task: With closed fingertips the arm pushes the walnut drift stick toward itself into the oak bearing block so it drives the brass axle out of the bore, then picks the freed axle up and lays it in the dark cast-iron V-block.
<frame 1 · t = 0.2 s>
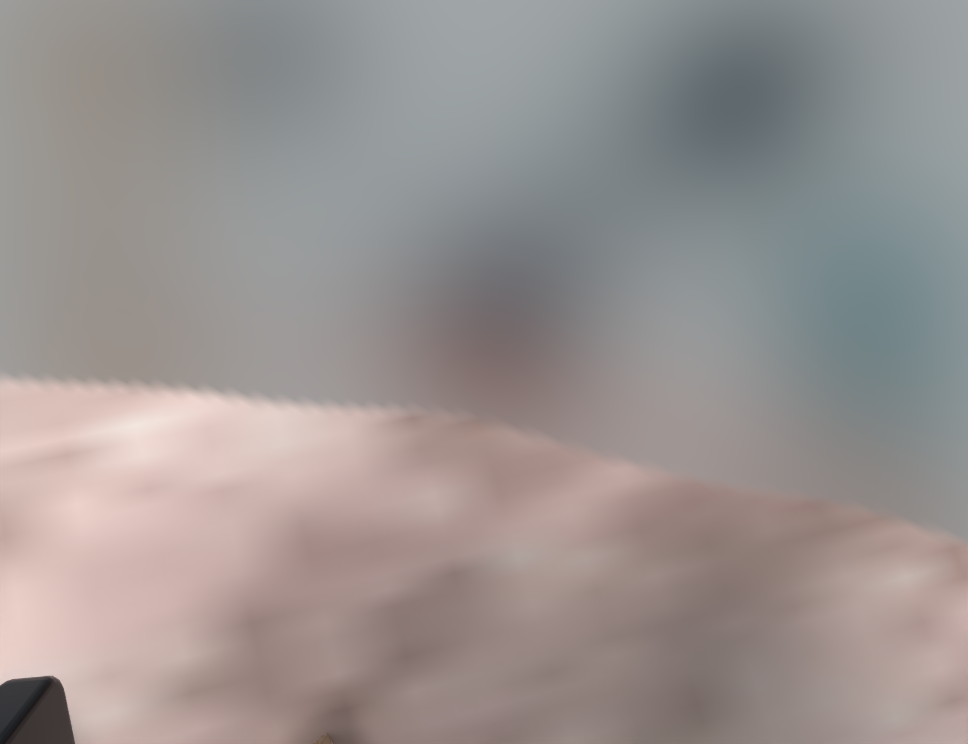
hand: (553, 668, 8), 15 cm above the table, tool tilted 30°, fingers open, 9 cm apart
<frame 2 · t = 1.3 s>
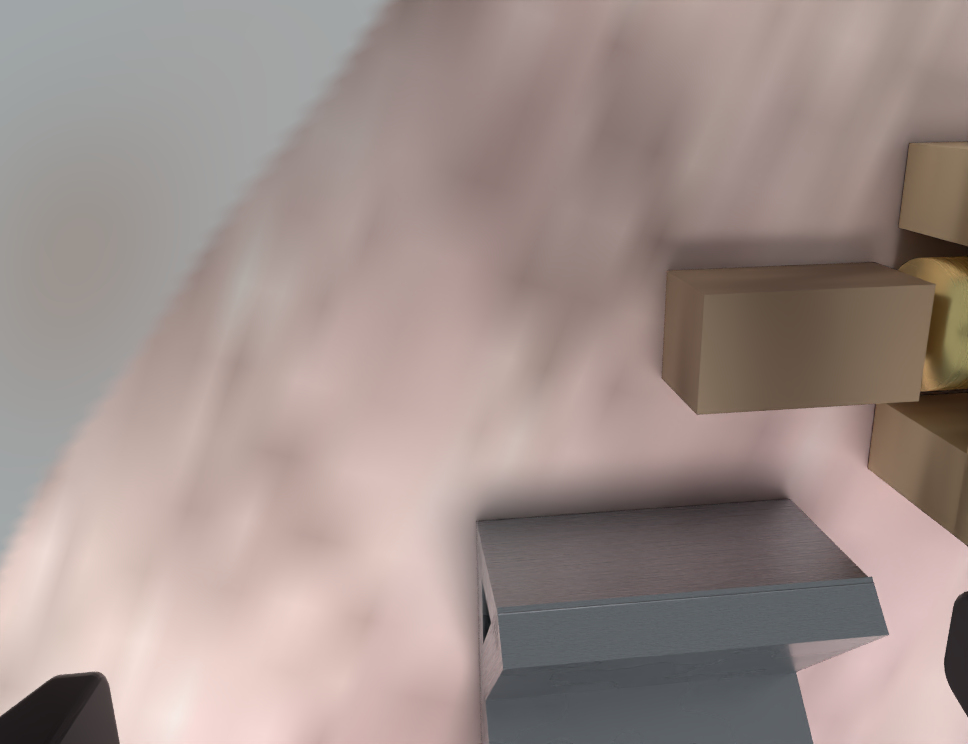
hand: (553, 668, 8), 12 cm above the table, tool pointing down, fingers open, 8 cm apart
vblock: (630, 656, 23), on the table
drift: (763, 318, 21), on the table
bearing block: (946, 312, 21), on the table
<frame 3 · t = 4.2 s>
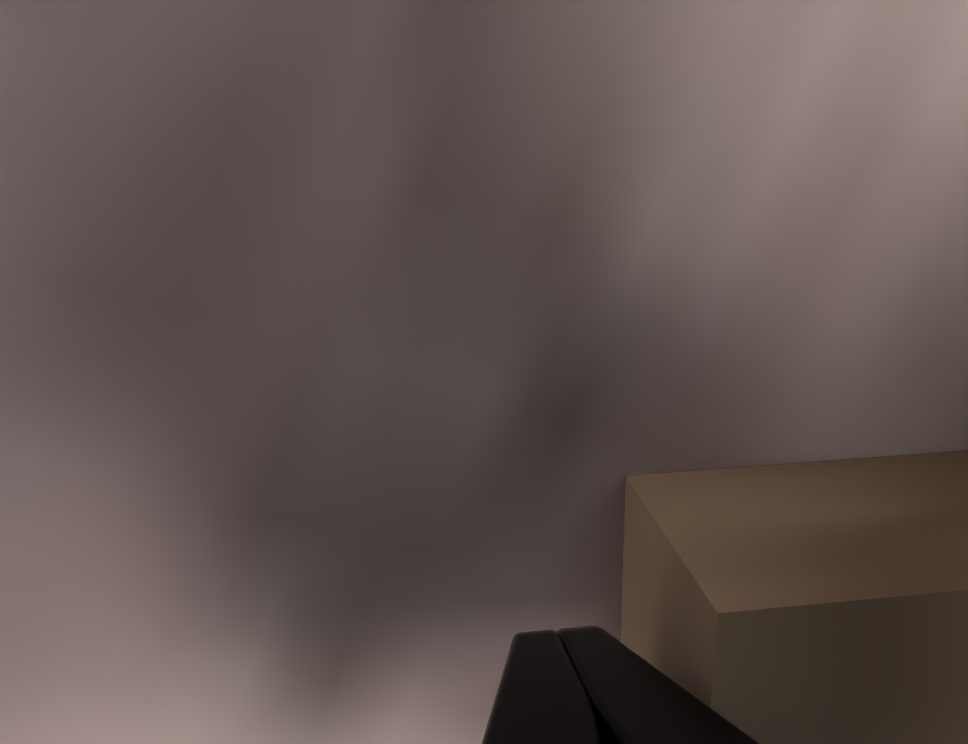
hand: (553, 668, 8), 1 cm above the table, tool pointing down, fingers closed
drift: (835, 562, 10), on the table, touching gripper
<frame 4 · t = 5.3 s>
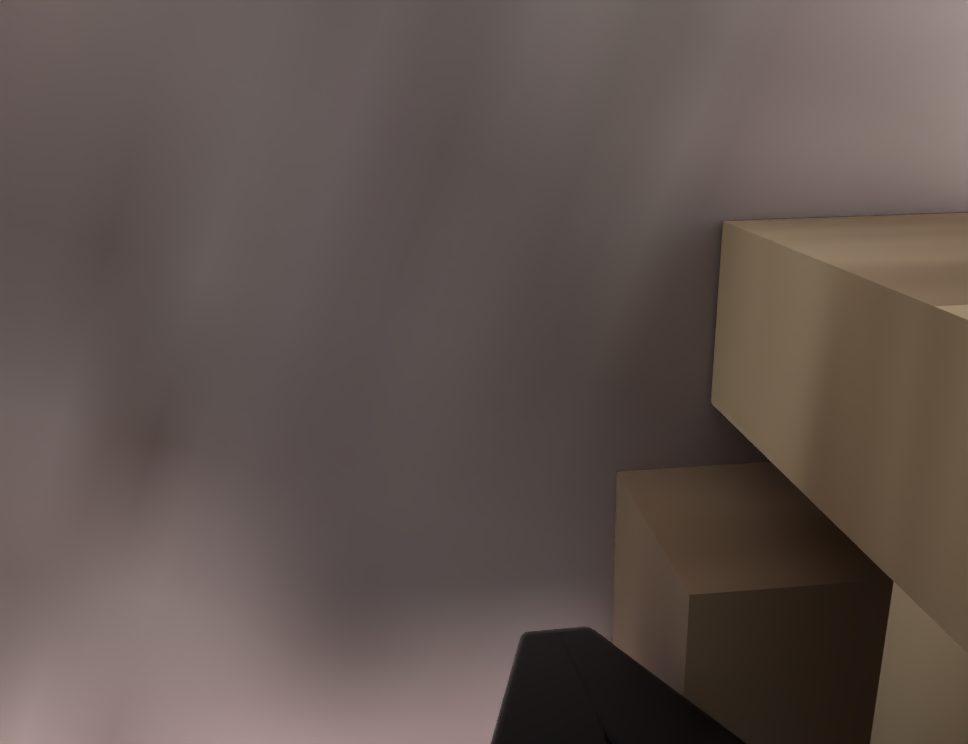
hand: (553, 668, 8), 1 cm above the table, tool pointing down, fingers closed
drift: (820, 553, 10), on the table
bearing block: (826, 569, 10), on the table
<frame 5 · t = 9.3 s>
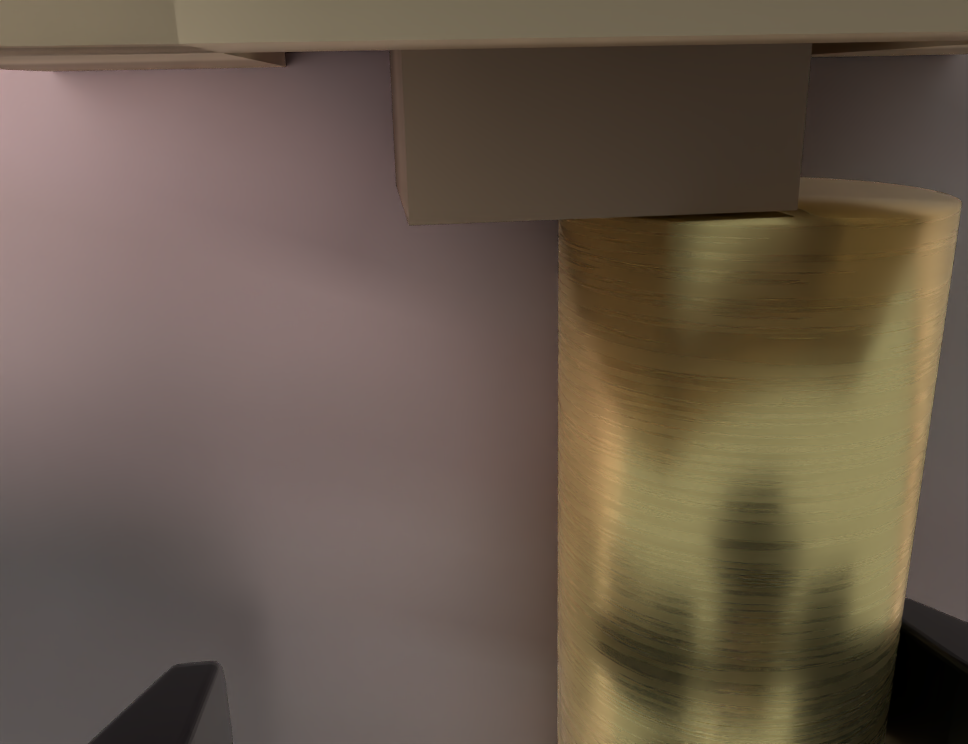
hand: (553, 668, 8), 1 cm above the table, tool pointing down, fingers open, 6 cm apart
axle: (560, 650, 9), point 1 cm above the table, tilted 67°
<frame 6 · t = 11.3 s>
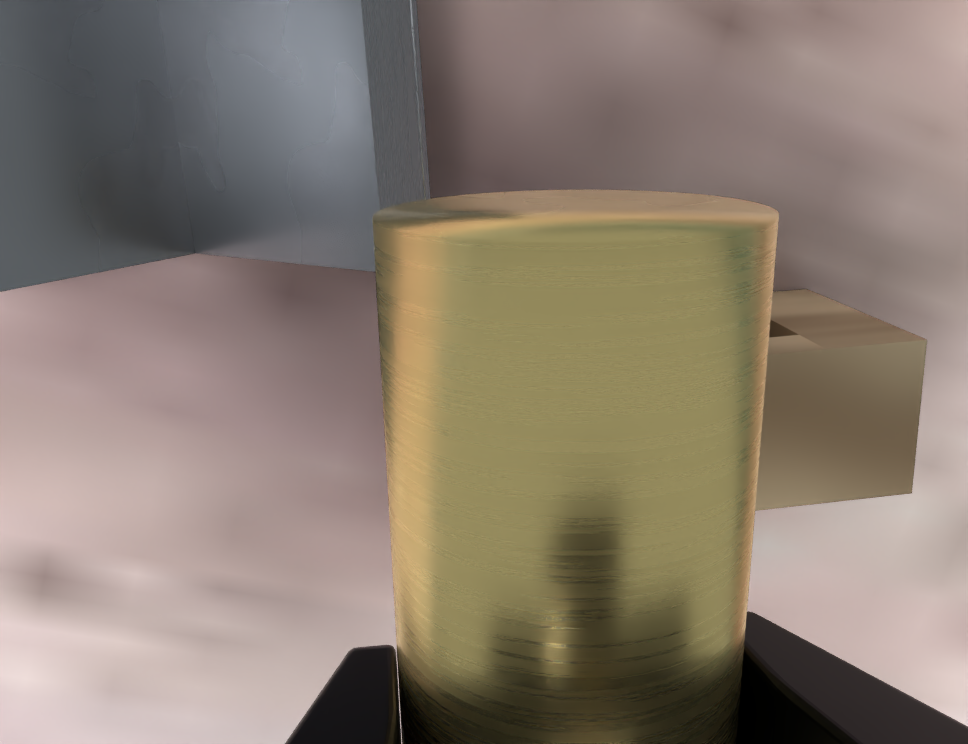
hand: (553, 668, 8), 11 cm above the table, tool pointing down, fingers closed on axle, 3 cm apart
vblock: (175, 34, 17), on the table
axle: (533, 616, 9), point 10 cm above the table, touching gripper
bearing block: (635, 367, 20), on the table
when the fingers open (5 cm above the table, at t = 13.0 s): axle drops 2 cm, resting on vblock.
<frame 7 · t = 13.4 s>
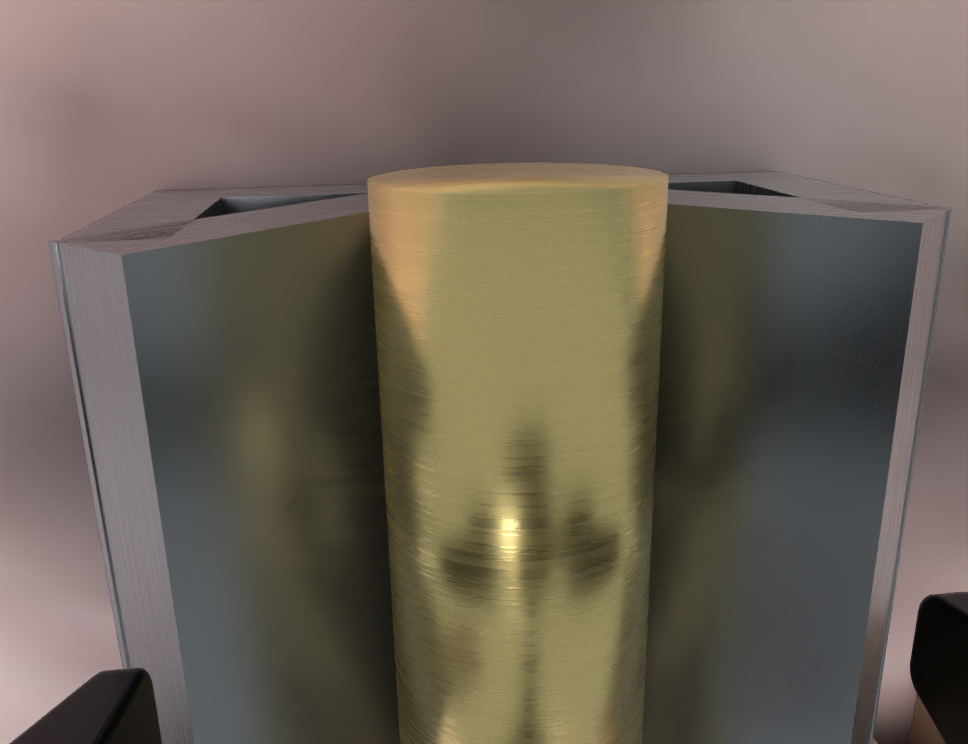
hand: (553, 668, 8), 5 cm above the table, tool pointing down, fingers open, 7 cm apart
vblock: (483, 448, 13), on the table
axle: (493, 510, 12), point 2 cm above the table, touching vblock
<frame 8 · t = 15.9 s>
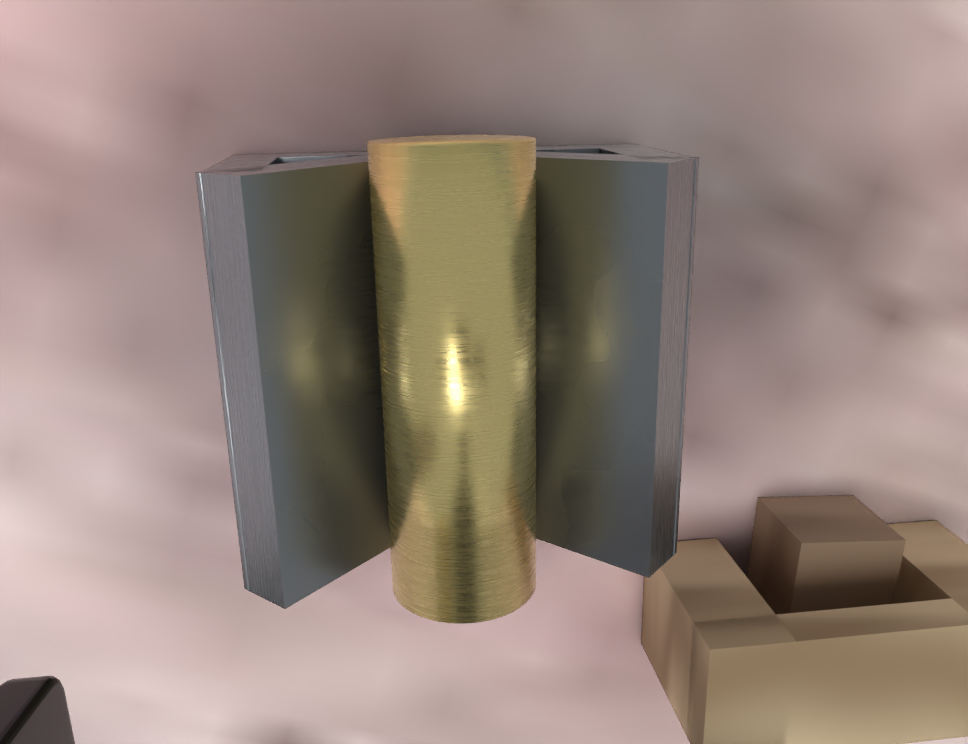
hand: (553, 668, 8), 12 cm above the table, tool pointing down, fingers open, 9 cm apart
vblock: (444, 328, 20), on the table
drift: (788, 577, 24), on the table
axle: (446, 356, 18), point 2 cm above the table, touching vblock
bearing block: (788, 581, 24), on the table
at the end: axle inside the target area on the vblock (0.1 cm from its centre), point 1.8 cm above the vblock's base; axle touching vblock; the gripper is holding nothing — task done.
